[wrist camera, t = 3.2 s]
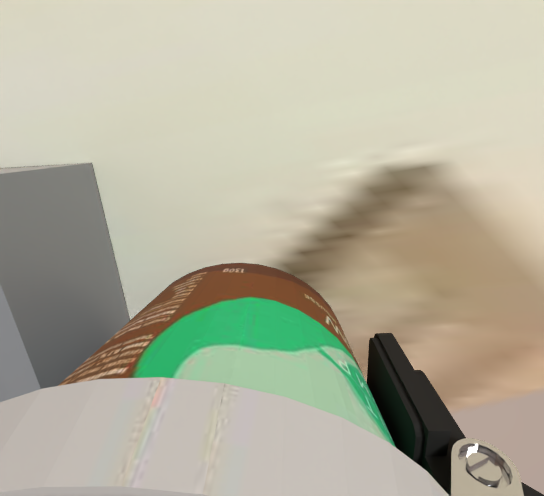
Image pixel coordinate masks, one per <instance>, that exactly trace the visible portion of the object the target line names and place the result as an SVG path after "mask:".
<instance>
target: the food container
mask: <svg viewBox="0 0 544 496" xmlns="http://www.w3.org/2000/svg"><path fill="white" fill-rule="evenodd" d="M0 496H449V495H448V494H447V493H446V491H445V490H444V489H443V488H442V487H441V486H440V485H439V484H438V483H437V482H436V480H435V479H434V478H433V477H432V476H431V475H430V474H429V473H428V472H427V471H426V470H425V469H423V468H422V467H421V466H419V465H418V464H417V463H415V462H414V461H413V460H412V459H410V458H409V457H408V456H406V455H405V454H404V453H402V452H401V451H400V450H398V449H397V448H396V446H395V444H394V442H393V440H392V438H391V435H390V433H389V431H388V429H387V427H386V425H385V422H384V420H383V418H382V416H381V414H380V411H379V409H378V407H377V405H376V403H375V400H374V398H373V396H372V394H371V392H370V390H369V387H368V385H367V383H366V381H365V379H364V376H363V374H362V372H361V370H360V368H359V365H358V363H357V361H356V359H355V357H354V355H353V352H352V350H351V348H350V346H349V344H348V341H347V339H346V337H345V335H344V333H343V330H342V328H341V326H340V324H339V322H338V320H337V318H336V316H335V314H334V312H333V311H332V309H331V307H330V306H329V305H328V303H327V302H326V301H325V300H324V299H323V297H322V296H321V295H320V294H319V293H318V292H316V291H315V290H314V289H313V288H312V287H310V286H309V285H308V284H307V283H305V282H303V281H302V280H300V279H298V278H297V277H295V276H293V275H291V274H288V273H286V272H283V271H281V270H278V269H276V268H271V267H267V266H263V265H259V264H247V263H231V264H220V265H215V266H210V267H205V268H202V269H200V270H197V271H194V272H192V273H189V274H187V275H185V276H183V277H182V278H180V279H178V280H176V281H175V282H173V283H172V284H170V285H169V286H168V287H167V288H166V289H165V290H164V291H163V292H162V293H160V294H159V295H158V296H157V297H156V298H155V299H154V300H153V301H152V302H150V303H149V304H148V305H147V306H146V307H145V308H144V309H143V310H142V311H140V312H139V313H138V314H137V315H136V316H135V317H134V318H133V319H131V320H130V321H129V322H128V323H127V324H126V325H125V326H124V327H123V328H121V329H120V330H119V331H118V332H117V333H116V334H115V335H114V336H113V337H111V338H110V339H109V340H108V341H107V342H106V343H105V344H104V345H103V346H101V347H100V348H99V349H98V350H97V351H96V352H95V353H94V354H93V355H91V356H90V357H89V358H88V359H87V360H86V361H85V362H84V363H82V364H81V365H80V366H79V367H78V368H77V369H76V370H75V371H74V372H72V373H71V374H70V375H69V376H68V377H67V378H66V379H65V380H64V381H62V382H61V383H60V384H59V385H58V386H55V387H49V388H43V389H40V390H36V391H33V392H30V393H27V394H24V395H21V396H18V397H15V398H12V399H9V400H6V401H3V402H0Z"/></svg>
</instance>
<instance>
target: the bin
mask: <svg viewBox="0 0 544 496" xmlns="http://www.w3.org/2000/svg"><path fill="white" fill-rule="evenodd" d="M129 321H130V319H129V315H128V311H127V307H126V303H125V299H124V294H123V290H122V286H121V282H120V278H119V274H118V270H117V265H116V261H115V257H114V253H113V249H112V245H111V241H110V237H109V232H108V228H107V224H106V220H105V216H104V212H103V208H102V203H101V199H100V195H99V191H98V187H97V183H96V179H95V174H94V170H93V166H92V163H82V164H64V165H47V166H29V167H11V168H0V402H3V401H6V400H9V399H12V398H15V397H18V396H21V395H24V394H27V393H30V392H33V391H36V390H40V389H43V388H49V387H55V386H58V385H59V384H60V383H61V382H62V381H64V380H65V379H66V378H67V377H68V376H69V375H70V374H71V373H72V372H74V371H75V370H76V369H77V368H78V367H79V366H80V365H81V364H82V363H84V362H85V361H86V360H87V359H88V358H89V357H90V356H91V355H93V354H94V353H95V352H96V351H97V350H98V349H99V348H100V347H101V346H103V345H104V344H105V343H106V342H107V341H108V340H109V339H110V338H111V337H113V336H114V335H115V334H116V333H117V332H118V331H119V330H120V329H121V328H123V327H124V326H125V325H126V324H127V323H128V322H129Z"/></svg>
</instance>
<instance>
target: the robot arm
mask: <svg viewBox="0 0 544 496" xmlns="http://www.w3.org/2000/svg"><path fill="white" fill-rule="evenodd" d="M367 385H368V387H369V390H370V392H371V394H372V396H373V398H374V400H375V403H376V405H377V407H378V409H379V411H380V414H381V416H382V418H383V420H384V422H385V425H386V427H387V429H388V431H389V433H390V435H391V438H392V440H393V442H394V444H395V446H396V448H397V449H398V450H400V451H401V452H402V453H404V454H405V455H406V456H408V457H409V458H410V459H412V460H413V461H414V462H415V463H417V464H418V465H419V466H421V467H422V468H423V469H425V470H426V471H427V472H428V473H429V474H430V475H431V476H432V477H433V478H434V479H435V480H436V482H437V483H438V484H439V485H440V486H441V487H442V488H443V489H444V490H445V491H446V493H447V494H448V495H449V496H544V495H543V494H541V493H539V492H538V491H536V490H534V489H532V488H531V487H529V486H527V485H526V484H524V483H522V482H521V479H520V475H519V473H518V470H517V468H516V467H515V465H514V464H513V463H512V461H511V460H510V459H509V458H508V457H507V456H506V455H505V454H504V453H503V452H501V451H500V450H499V449H497V448H496V447H494V446H493V445H490V444H488V443H486V442H484V441H481V440H477V439H473V438H467V439H466V437H465V436H464V434H463V433H462V431H461V430H460V428H459V427H458V425H457V424H456V422H455V420H454V419H453V417H452V416H451V414H450V413H449V411H448V409H447V408H446V406H445V405H444V403H443V402H442V400H441V399H440V397H439V395H438V394H437V392H436V391H435V389H434V388H433V386H432V385H431V383H430V381H429V380H428V378H427V377H426V375H425V374H424V373H423V371H421V370H414V369H413V367H412V365H411V364H410V362H409V360H408V359H407V357H406V355H405V354H404V352H403V350H402V349H401V347H400V346H399V344H398V342H397V341H396V339H395V337H394V336H393V334H392V333H379V334H375V336H374V338H370V340H369V356H368V373H367Z"/></svg>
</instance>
